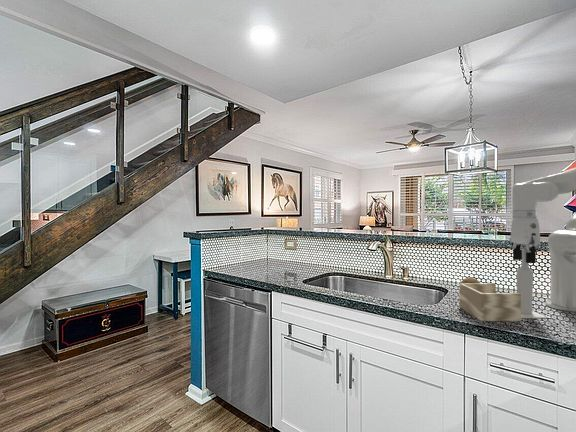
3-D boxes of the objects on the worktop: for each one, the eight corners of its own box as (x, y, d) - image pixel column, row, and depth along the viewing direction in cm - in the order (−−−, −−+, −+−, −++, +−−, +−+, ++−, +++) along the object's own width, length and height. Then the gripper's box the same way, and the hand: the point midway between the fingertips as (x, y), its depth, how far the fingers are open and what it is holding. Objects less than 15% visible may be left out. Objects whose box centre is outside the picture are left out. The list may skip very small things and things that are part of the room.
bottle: (513, 310, 126) (514, 247, 125) (529, 311, 124) (529, 248, 123) (519, 314, 121) (520, 249, 120) (535, 315, 119) (536, 249, 119)
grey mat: (527, 309, 127) (527, 308, 127) (547, 318, 117) (547, 317, 117) (502, 309, 128) (502, 308, 128) (519, 318, 118) (519, 317, 118)
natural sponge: (464, 295, 148) (464, 274, 148) (485, 299, 142) (485, 277, 141) (456, 299, 142) (456, 277, 142) (478, 303, 136) (478, 280, 135)
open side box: (494, 307, 131) (494, 283, 131) (520, 321, 115) (520, 293, 115) (459, 307, 131) (459, 283, 131) (481, 321, 115) (481, 293, 115)
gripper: (552, 215, 113) (551, 265, 113) (518, 214, 130) (518, 257, 130) (530, 215, 113) (530, 265, 113) (500, 214, 130) (500, 257, 131)
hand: (524, 260), depth 122 cm, fingers open, 6 cm apart
